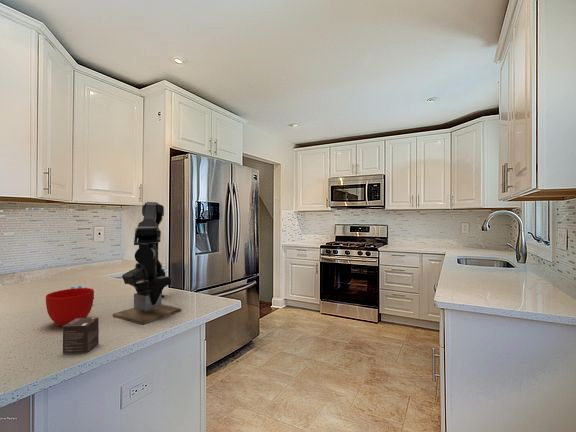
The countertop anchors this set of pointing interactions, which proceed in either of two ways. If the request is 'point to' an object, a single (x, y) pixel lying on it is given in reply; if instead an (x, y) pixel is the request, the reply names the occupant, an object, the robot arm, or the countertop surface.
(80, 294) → the ceramic cup
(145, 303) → the square tube
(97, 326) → the box
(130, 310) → the post base
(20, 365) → the countertop surface
